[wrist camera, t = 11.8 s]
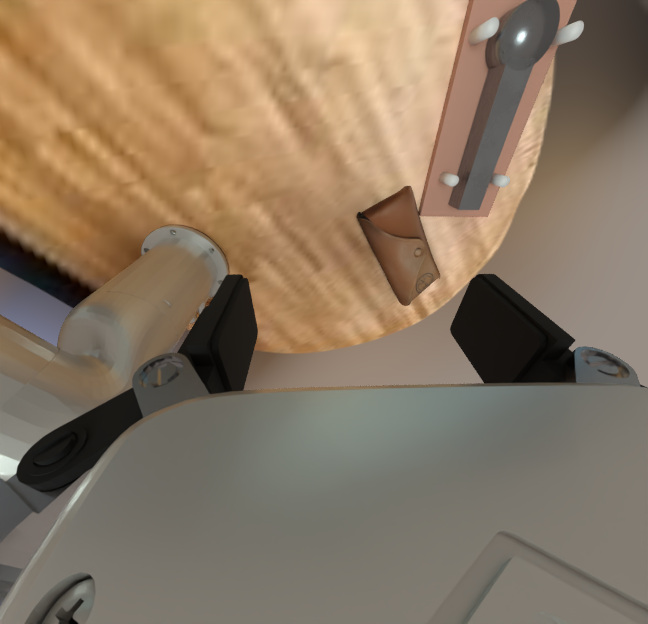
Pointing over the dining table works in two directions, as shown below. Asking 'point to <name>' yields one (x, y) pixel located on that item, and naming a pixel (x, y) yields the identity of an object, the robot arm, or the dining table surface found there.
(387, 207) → the sunglasses case
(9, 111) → the dining table surface
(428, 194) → the peg rack
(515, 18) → the grey spoon
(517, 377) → the robot arm
